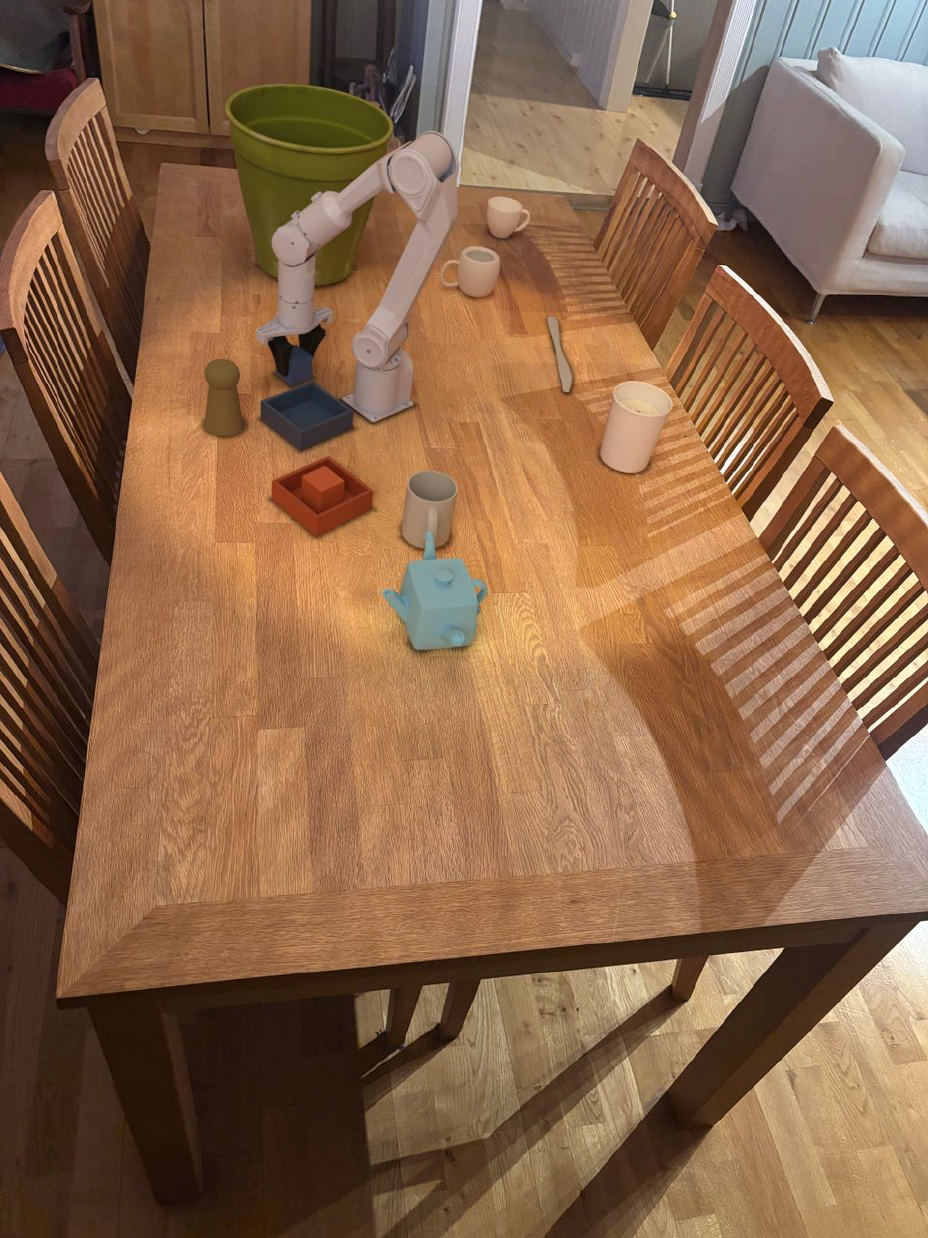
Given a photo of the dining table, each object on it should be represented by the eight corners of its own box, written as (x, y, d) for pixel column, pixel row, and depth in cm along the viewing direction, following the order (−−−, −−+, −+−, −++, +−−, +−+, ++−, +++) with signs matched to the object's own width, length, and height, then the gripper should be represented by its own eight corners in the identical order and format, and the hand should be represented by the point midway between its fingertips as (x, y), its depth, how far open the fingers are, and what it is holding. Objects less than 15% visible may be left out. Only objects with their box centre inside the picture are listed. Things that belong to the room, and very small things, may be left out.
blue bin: (312, 398, 162) (313, 380, 160) (352, 428, 158) (353, 410, 156) (260, 419, 156) (260, 400, 154) (300, 451, 152) (301, 432, 150)
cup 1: (447, 519, 146) (456, 472, 139) (452, 565, 139) (461, 517, 133) (399, 516, 145) (406, 468, 138) (401, 562, 138) (408, 514, 131)
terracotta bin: (327, 473, 149) (328, 455, 147) (371, 508, 145) (373, 490, 142) (271, 499, 143) (271, 480, 140) (316, 536, 139) (317, 518, 136)
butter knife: (561, 316, 194) (547, 314, 193) (575, 393, 175) (559, 390, 175) (560, 319, 194) (546, 316, 194) (574, 395, 176) (558, 393, 175)
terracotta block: (323, 488, 146) (325, 465, 143) (343, 504, 144) (344, 480, 141) (300, 499, 143) (301, 475, 140) (320, 515, 141) (321, 491, 138)
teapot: (496, 674, 126) (510, 620, 118) (390, 684, 122) (398, 629, 115) (462, 578, 137) (473, 523, 130) (364, 584, 133) (370, 529, 126)
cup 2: (480, 224, 220) (485, 195, 215) (522, 228, 222) (528, 198, 217) (486, 240, 214) (491, 210, 210) (529, 243, 217) (535, 214, 212)
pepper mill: (235, 439, 152) (234, 378, 144) (198, 430, 152) (194, 369, 144) (249, 419, 156) (248, 358, 148) (213, 410, 156) (210, 349, 148)
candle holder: (658, 454, 166) (680, 394, 158) (642, 483, 159) (663, 422, 151) (605, 434, 168) (624, 373, 160) (587, 462, 161) (605, 400, 153)
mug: (489, 281, 201) (495, 244, 196) (499, 302, 196) (506, 265, 190) (433, 279, 198) (438, 242, 192) (441, 300, 192) (447, 263, 187)
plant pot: (211, 235, 197) (206, 82, 177) (349, 228, 209) (359, 84, 188) (254, 309, 180) (253, 149, 159) (402, 296, 191) (418, 146, 171)
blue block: (295, 366, 168) (296, 344, 165) (311, 378, 167) (312, 356, 163) (275, 374, 166) (275, 351, 163) (291, 386, 164) (292, 363, 161)
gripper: (315, 273, 161) (312, 346, 171) (243, 295, 153) (244, 370, 163) (342, 292, 158) (338, 365, 168) (271, 315, 150) (271, 390, 160)
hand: (294, 369), depth 165 cm, fingers closed on blue block, 4 cm apart
